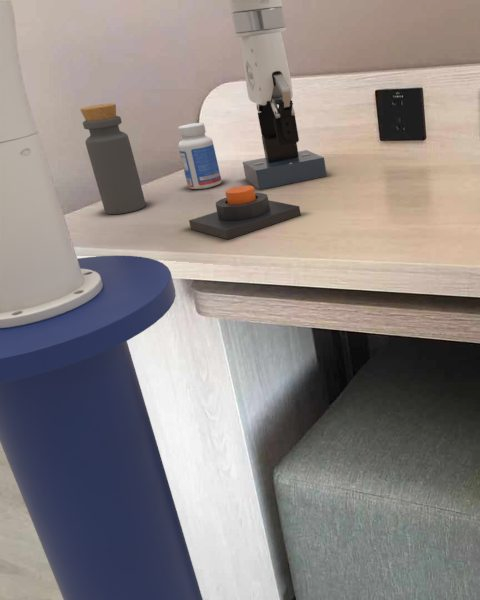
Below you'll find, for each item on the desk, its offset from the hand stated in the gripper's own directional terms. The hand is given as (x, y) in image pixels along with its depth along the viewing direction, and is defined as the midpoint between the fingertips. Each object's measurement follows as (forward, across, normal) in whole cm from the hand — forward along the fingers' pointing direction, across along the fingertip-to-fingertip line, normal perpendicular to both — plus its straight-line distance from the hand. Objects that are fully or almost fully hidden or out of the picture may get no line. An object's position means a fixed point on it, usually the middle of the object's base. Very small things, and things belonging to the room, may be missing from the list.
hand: (280, 139), depth 108 cm
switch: (+3, +21, -12) cm, 25 cm away
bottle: (+6, 0, -25) cm, 26 cm away
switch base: (+6, +21, -12) cm, 25 cm away
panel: (+6, 0, 0) cm, 6 cm away
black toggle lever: (+3, 0, 0) cm, 3 cm away
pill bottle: (+6, -6, -12) cm, 15 cm away
